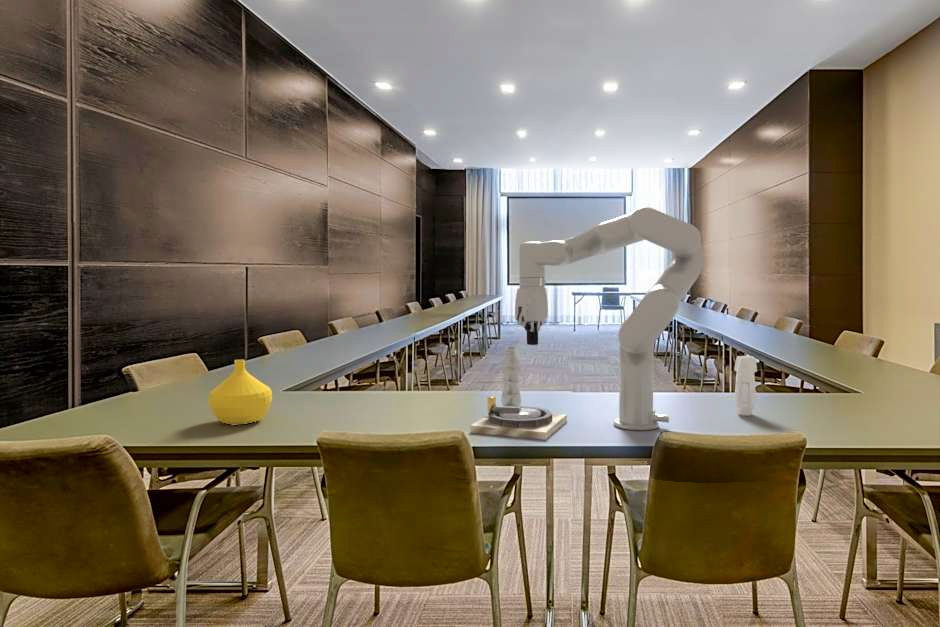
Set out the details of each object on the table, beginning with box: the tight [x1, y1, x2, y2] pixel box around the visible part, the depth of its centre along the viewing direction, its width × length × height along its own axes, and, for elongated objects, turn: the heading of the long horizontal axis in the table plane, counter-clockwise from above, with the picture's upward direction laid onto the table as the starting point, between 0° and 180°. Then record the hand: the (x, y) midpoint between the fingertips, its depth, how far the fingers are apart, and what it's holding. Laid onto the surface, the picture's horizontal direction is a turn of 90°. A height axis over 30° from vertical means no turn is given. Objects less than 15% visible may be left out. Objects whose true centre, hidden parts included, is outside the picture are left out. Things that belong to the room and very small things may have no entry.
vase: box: [208, 359, 273, 425], centre depth 193 cm, size 18×18×19 cm
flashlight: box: [733, 355, 758, 417], centre depth 194 cm, size 7×18×7 cm
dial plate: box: [469, 405, 568, 441], centre depth 183 cm, size 22×22×4 cm
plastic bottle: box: [500, 346, 522, 406], centre depth 208 cm, size 6×7×20 cm
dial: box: [487, 395, 541, 419], centre depth 183 cm, size 16×12×6 cm
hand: (532, 344), depth 189 cm, fingers closed
